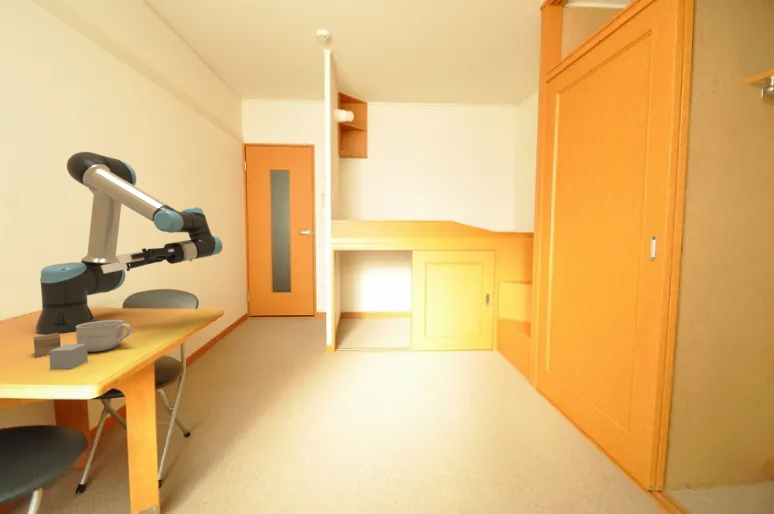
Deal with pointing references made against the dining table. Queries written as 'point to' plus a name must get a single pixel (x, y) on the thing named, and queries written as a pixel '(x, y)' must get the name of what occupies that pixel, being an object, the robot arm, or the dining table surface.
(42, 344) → the walnut block
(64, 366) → the slate block
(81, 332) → the teacup
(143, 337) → the dining table surface
